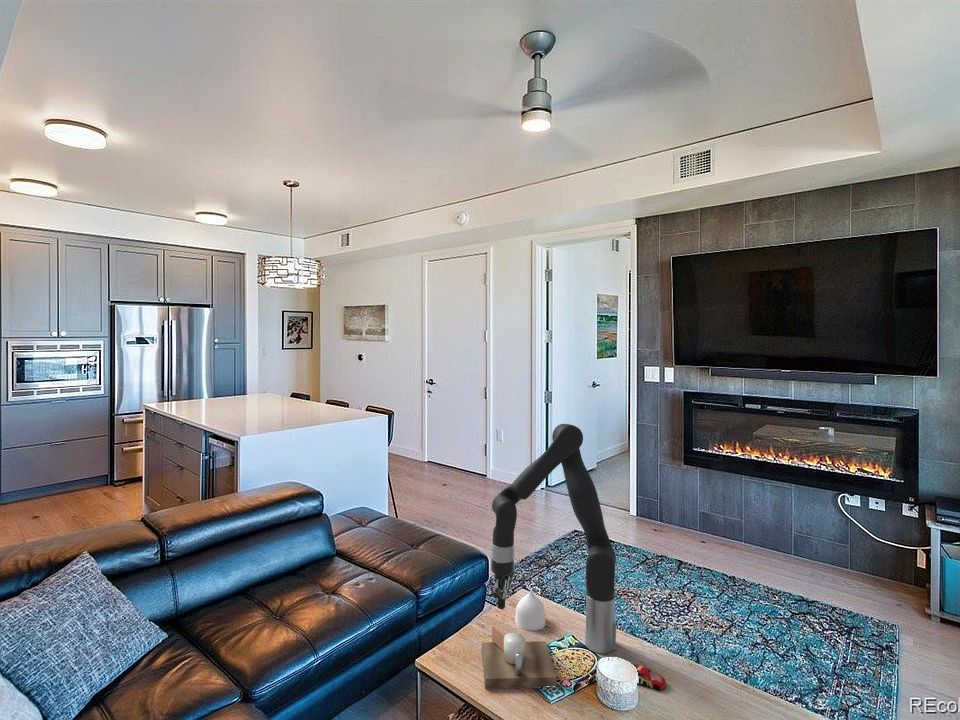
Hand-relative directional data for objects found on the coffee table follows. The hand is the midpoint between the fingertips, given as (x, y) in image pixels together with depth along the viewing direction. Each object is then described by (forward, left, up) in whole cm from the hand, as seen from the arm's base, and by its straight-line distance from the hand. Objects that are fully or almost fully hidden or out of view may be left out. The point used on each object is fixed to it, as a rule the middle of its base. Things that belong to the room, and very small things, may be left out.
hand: (501, 607), depth 170 cm
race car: (-41, +20, -13) cm, 47 cm away
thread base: (-4, +13, -12) cm, 18 cm away
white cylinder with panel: (-1, +9, -9) cm, 13 cm away
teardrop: (-12, -13, -13) cm, 22 cm away
